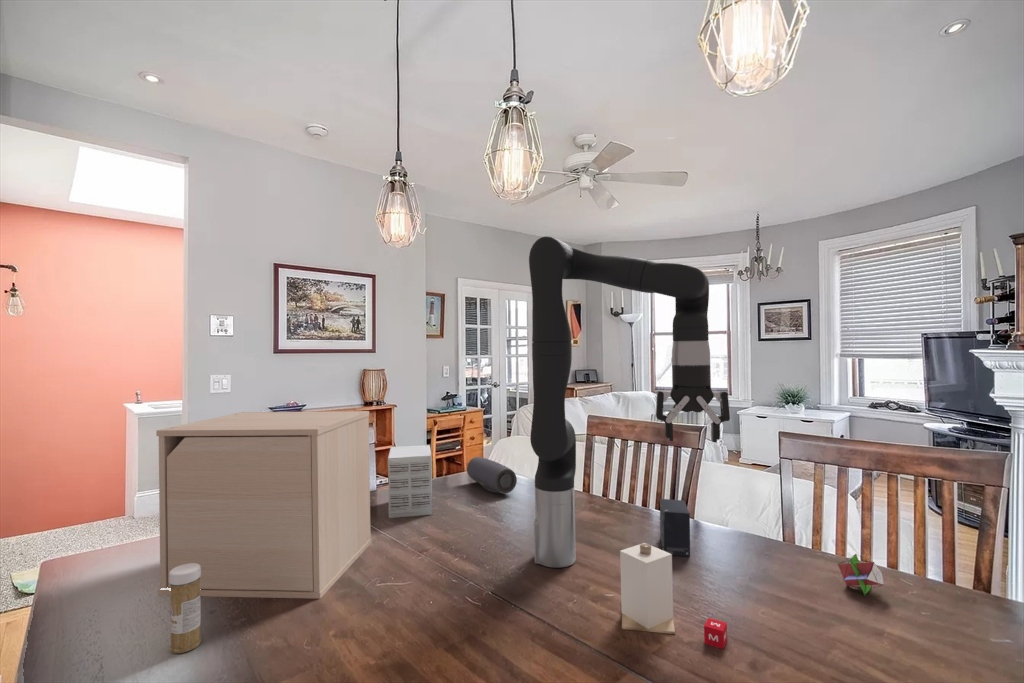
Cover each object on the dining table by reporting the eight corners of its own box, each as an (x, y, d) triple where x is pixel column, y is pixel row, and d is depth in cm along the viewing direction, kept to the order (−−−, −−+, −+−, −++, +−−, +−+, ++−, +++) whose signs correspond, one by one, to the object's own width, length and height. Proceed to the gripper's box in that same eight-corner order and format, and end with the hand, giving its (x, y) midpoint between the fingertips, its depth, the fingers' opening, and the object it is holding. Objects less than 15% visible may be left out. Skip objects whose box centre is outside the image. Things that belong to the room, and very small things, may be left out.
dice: (704, 643, 83) (703, 625, 83) (708, 635, 86) (708, 617, 86) (723, 649, 82) (723, 631, 82) (727, 640, 84) (726, 622, 84)
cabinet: (158, 595, 104) (156, 430, 104) (243, 541, 133) (242, 412, 133) (320, 598, 101) (317, 428, 102) (371, 542, 130) (369, 410, 130)
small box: (692, 557, 117) (691, 512, 117) (663, 555, 118) (662, 511, 119) (685, 540, 128) (684, 499, 128) (659, 538, 129) (658, 498, 129)
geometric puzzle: (824, 575, 102) (851, 551, 98) (836, 565, 107) (862, 542, 103) (858, 607, 98) (887, 583, 94) (868, 595, 102) (896, 572, 98)
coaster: (621, 628, 88) (621, 626, 88) (621, 603, 97) (621, 601, 97) (675, 634, 86) (675, 631, 86) (670, 607, 95) (670, 605, 95)
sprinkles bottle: (166, 648, 85) (165, 568, 85) (196, 635, 89) (195, 559, 89) (175, 658, 82) (174, 576, 82) (205, 645, 86) (204, 566, 86)
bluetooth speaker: (518, 494, 170) (518, 465, 170) (494, 499, 165) (494, 469, 165) (488, 480, 189) (487, 453, 190) (465, 483, 185) (465, 456, 185)
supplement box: (391, 501, 165) (390, 446, 166) (431, 498, 168) (430, 444, 168) (387, 518, 148) (386, 457, 148) (432, 515, 151) (431, 455, 151)
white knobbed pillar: (648, 629, 87) (646, 556, 87) (621, 612, 93) (620, 544, 93) (673, 617, 91) (671, 547, 91) (645, 602, 96) (644, 536, 96)
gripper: (656, 363, 101) (658, 443, 101) (731, 363, 98) (733, 445, 98) (654, 362, 109) (655, 437, 109) (723, 362, 106) (725, 438, 106)
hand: (692, 441), depth 103 cm, fingers open, 8 cm apart
